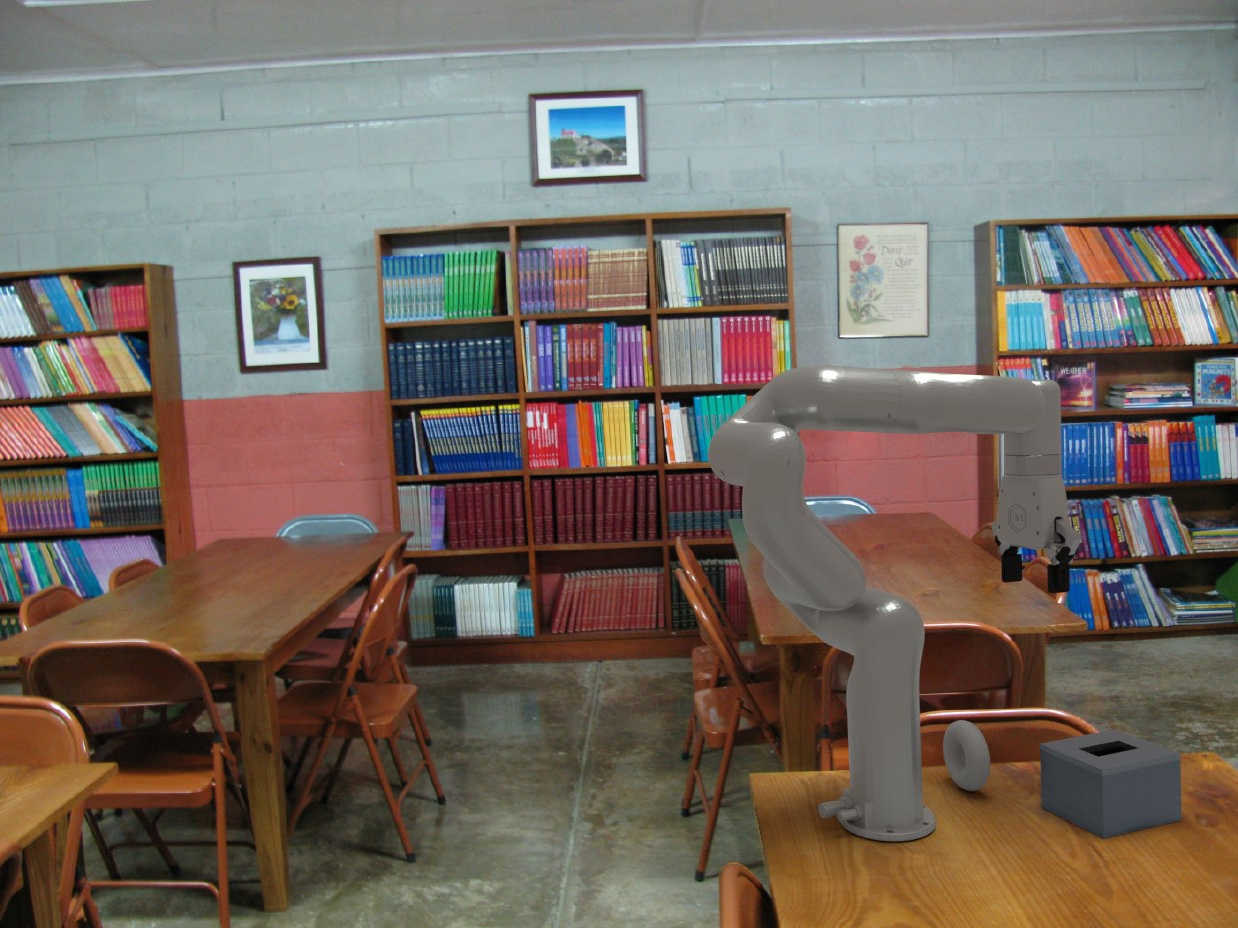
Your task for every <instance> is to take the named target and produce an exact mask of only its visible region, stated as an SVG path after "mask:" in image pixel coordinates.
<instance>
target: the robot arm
mask: <svg viewBox="0 0 1238 928" xmlns="http://www.w3.org/2000/svg"><path fill="white" fill-rule="evenodd" d="M1061 394H1062V393H1061V387H1060V385H1059V383H1057V381H1055V380H1053V379H1027V378H1024V377H1016V376H1015V377H1014V376H1000V375H983V374H980V375H978V374H958V373H945V372H943V373H941V372H935V371H922V370H905V369H888V368H875V367H874V368H873V367H861V366H860V367H857V366H845V365H844V366H843V365H827V364H825V365H812V366H804V367H794V368H793V367H792V368H789V369H786V370H784V371H783V372H780V373H779V374H777V375H776V376H775V377H773V378H772V379H771V380H769V382H768V383H766V384H765V385H764V386H763V387H762V388H761V389H760V390H758V392H756V393H755V394H754V395H753V396H752V397H751V398H750V399H749V400H747V402H745V404H743V406H741V407H740V408H739V409H738V410H737V411H735V412H734V413H733V414H732V415H731V416H730V417H729V418H728V419H726V420H725V422H724V423H723V424H721V425H720V426H719V428H718V429H717V430H716V431H715V433H714V434H713V436H712V438H711V440H710V442H709V445H708V450H707V451H708V452H707V458H708V463H709V466H710V468H711V469H710V470H712V472H713V473H714V475H715V476H716V477H718V479H720V480H721V481H723V482H725V483H727V484H729V485H734V486H738V487H742V495H741V513H742V522H743V528H744V531H745V533H746V535H747V537H748V539H749V540H750V542H751V543H752V545H753V546H754V547H755V548H756V550H758V551H759V553H760V554H761V555H763V557H764V558H763V564H762V565H763V568H762V570H763V571H762V572H763V576H764V580H765V582H766V584H767V586H768V588H769V590H770V592H771V593H772V594H773V595H774V597H775V598H777V600H779V602H781V603H782V605H783V606H784V607H786V609H788V610H789V612H791V613H792V614H793V615H794V616H795V618H797V619H798V621H800V622H801V623H802V624H803V625H804V626H805V627H806V628H808V630H809V631H811V633H813V634H814V635H815V637H817V638H818V639H819V640H821V641H822V642H823V643H826V645H828V646H831V648H832V647H833V648H835V649H837V650H839V651H842V652H845V653H847V654H850V655H852V656H853V664H852V667H851V670H850V673H849V677H848V680H847V685H846V694H845V695H846V698H845V699H846V701H845V702H846V711H847V713H846V714H847V717H846V718H847V736H848V737H847V738H848V739H847V742H848V767H849V768H848V769H849V770H848V771H849V787H847V788H843V789H842V795H843V796H840V797H839V798H838V799H837V800H834V801H833V800H830V801H826V802H821V803H819V804H818V806H817V808H818V809H817V810H818V814H819V815H820V817H821V818H822V819H826V818H832V817H835V816H836V817H837V819H838V821H839V822H840V824H841V825H842V827H843V828H844V829H845V830H847V831H849V832H850V833H852V834H855V835H857V836H858V837H862V838H865V839H870V840H874V841H883V842H905V841H913V840H916V839H921V838H923V837H926V836H927V835H929V834H931V833H932V832H933V831H934V830H935V829H936V826H937V825H936V819H937V818H936V815H935V813H934V812H933V810H931V809H930V808H929V807H928V806H926V805H924V798H923V796H924V795H923V794H924V793H923V768H922V763H923V762H922V761H923V760H922V741H921V739H922V737H921V710H920V674H921V672H920V670H921V664H922V663H921V662H922V656H923V652H924V651H923V650H924V645H925V633H926V632H925V631H926V630H925V625H924V621H923V618H922V615H921V614H920V612H919V610H918V609H917V608H916V607H915V606H914V604H913V603H911V602H910V601H909V600H907V599H906V598H904V597H902V596H900V595H899V594H898V595H897V594H895V593H892V592H889V591H884V590H882V589H878V588H874V587H868V586H867V576H866V572H865V570H864V567H863V565H862V563H861V562H860V560H859V559H858V557H857V556H856V554H854V553H853V551H852V550H850V549H849V548H848V547H847V546H846V545H845V544H844V543H843V542H842V541H841V540H840V539H839V538H838V536H836V535H835V534H834V533H833V532H832V531H831V530H830V529H829V528H828V526H826V525H825V524H824V523H823V522H822V521H821V520H820V519H819V517H818V516H817V515H816V514H815V513H814V511H812V509H811V508H810V507H809V505H808V504H807V501H806V498H805V494H804V479H805V473H806V465H807V455H806V449H805V446H804V442H803V441H802V439H801V437H800V436H799V435H798V434H799V433H800V431H803V430H806V431H807V430H808V431H809V430H811V431H814V430H816V431H830V432H831V431H832V432H834V431H835V432H852V433H853V432H855V433H856V432H857V433H858V432H859V433H880V434H897V435H898V434H901V435H902V434H904V435H905V434H907V435H909V434H910V435H925V434H937V433H939V434H940V433H967V434H972V435H973V434H976V435H1003V451H1004V453H1003V454H1004V456H1003V457H1004V461H1003V462H1004V476H1003V475H1002V476H1001V481H1000V483H999V484H1000V485H999V490H998V491H999V492H998V499H997V514H996V515H997V516H996V517H997V518H996V520H994V521H992V522H991V525H990V526H991V529H992V533H993V536H994V542H995V544H996V545H997V547H998V549H997V550H998V551H997V552H998V554H999V555H1000V558H1001V559H1000V565H1001V574H1000V575H1001V582H1003V583H1004V584H1005V583H1015V582H1021V581H1023V554H1022V553H1020V550H1021V549H1022V548H1023V549H1027V550H1034V551H1037V550H1039V551H1040V550H1042V549H1043V550H1044V553H1045V554H1046V556H1047V558H1048V560H1049V561H1050V563H1048V564H1047V567H1046V568H1047V572H1046V573H1047V576H1046V577H1047V592H1048V593H1049V594H1051V595H1052V594H1054V595H1055V594H1060V593H1062V594H1063V593H1068V592H1070V590H1071V589H1070V588H1071V587H1070V585H1071V584H1070V583H1071V580H1070V574H1071V573H1070V564H1073V561H1074V557H1076V556H1077V554H1078V548H1079V546H1080V543H1081V541H1082V535H1081V533H1079V532H1078V531H1077V530H1076V529H1075V528H1074V527H1072V526H1071V525H1070V523H1069V508H1068V500H1067V492H1066V486H1065V481H1064V478H1063V473H1062V471H1063V469H1062V465H1063V464H1062V462H1063V461H1062V410H1061V409H1062V406H1061V404H1062V403H1061V401H1062V399H1061ZM1056 550H1058V552H1056Z"/></svg>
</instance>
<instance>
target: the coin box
mask: <svg viewBox="0 0 1238 928" xmlns="http://www.w3.org/2000/svg"><path fill="white" fill-rule="evenodd" d="M1039 755H1040V757H1039V758H1040V762H1039V763H1040V790H1041V791H1040V792H1041V809H1043V810H1044V811H1048V812H1049V813H1051V814H1053V815H1056V816H1057V817H1059V818H1061V819H1063V820H1065V821H1068V823H1069V822H1070V823H1071V824H1073V825H1076V826H1078V827H1079V828H1080V829H1081V828H1082V829H1083V830H1086V831H1087V832H1089V833H1091V834H1093V835H1096V836H1098V837H1099V838H1102V839H1105V840H1106V839H1110V838H1113V837H1116V836H1121V835H1126V834H1130V833H1135V832H1138V831H1142V830H1147V829H1151V828H1154V827H1155V828H1156V827H1159V826H1162V825H1168V824H1171V823H1175V822H1181V821H1183V819H1182V818H1183V817H1182V816H1183V815H1182V775H1181V773H1182V771H1181V769H1182V768H1181V767H1182V766H1181V753H1180V752H1178V751H1175V750H1172V749H1170V748H1166V747H1164V746H1161V745H1160V744H1159V745H1158V744H1156V743H1152V742H1151V741H1148V740H1144V739H1142V738H1139V737H1136V736H1133V735H1130V734H1128V733H1125V732H1124V731H1123V732H1122V731H1120V730H1117V729H1109V730H1105V731H1104V730H1103V731H1100V732H1099V731H1098V732H1093V733H1089V734H1083V735H1078V736H1074V737H1068V738H1064V739H1058V740H1051V741H1048V742H1043V743H1039Z"/></svg>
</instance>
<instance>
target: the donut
mask: <svg viewBox="0 0 1238 928" xmlns="http://www.w3.org/2000/svg"><path fill="white" fill-rule="evenodd" d="M944 732H945V733H944V735H943V743H942V749H943V750H942V751H943V759H944V763H945V766H946V768H947V771H948V773H949V776H950V778H951V779H952V781H953V782H954V783H955V784H956V785H957V786H958V787H959V788H960V789H963V790H965V791H968V792H975V791H978V790H981V789H983V787H984V786H985V785H987V782H988V780H989V777H990V774H991V756H990V751H989V747H988V744H987V741H986V739H985V737H984V735H983V733H982V731H981V730H980V729H979V728H978V727H977V726H976V725H974V723H973V722H971V721H967V720H964V719H959V720H956V721H953V722H952V723H950V724H949V726H948V727H947V728H946V730H945V731H944Z"/></svg>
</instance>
